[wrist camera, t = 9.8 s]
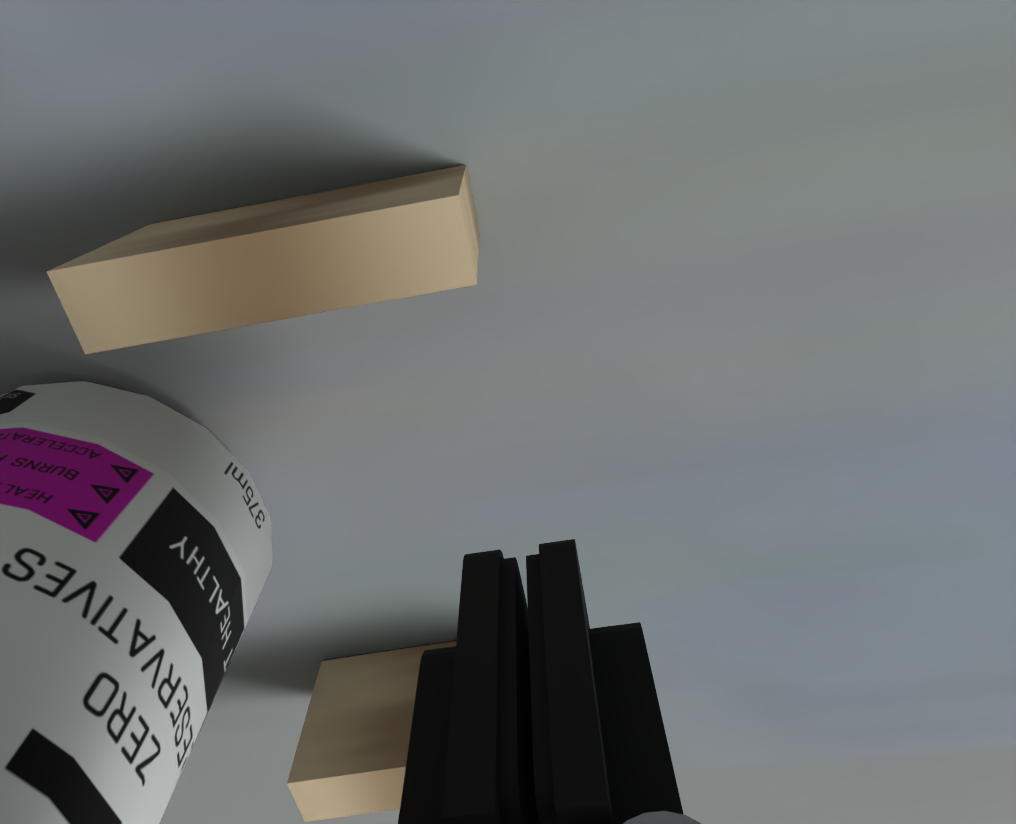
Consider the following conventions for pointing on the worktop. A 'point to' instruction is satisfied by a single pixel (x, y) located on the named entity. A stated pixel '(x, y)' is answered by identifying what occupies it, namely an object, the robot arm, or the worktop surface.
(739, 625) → the worktop surface
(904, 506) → the worktop surface
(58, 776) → the supplement can
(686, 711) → the worktop surface
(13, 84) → the worktop surface
